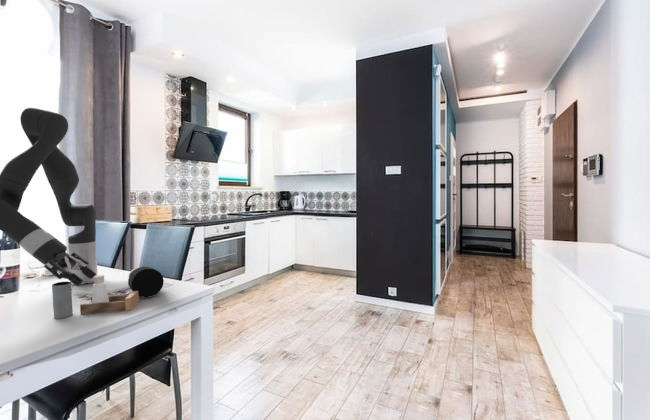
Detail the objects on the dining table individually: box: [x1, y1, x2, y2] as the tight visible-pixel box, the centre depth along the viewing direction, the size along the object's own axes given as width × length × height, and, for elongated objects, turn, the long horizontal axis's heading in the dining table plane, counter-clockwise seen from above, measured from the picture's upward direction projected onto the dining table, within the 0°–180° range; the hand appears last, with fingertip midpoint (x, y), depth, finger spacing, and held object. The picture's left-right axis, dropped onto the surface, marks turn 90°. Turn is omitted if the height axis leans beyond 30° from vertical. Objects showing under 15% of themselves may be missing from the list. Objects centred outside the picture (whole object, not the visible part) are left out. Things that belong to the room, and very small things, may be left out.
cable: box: [127, 266, 165, 299], centre depth 127 cm, size 10×34×10 cm, turn 36°
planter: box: [51, 280, 74, 320], centre depth 99 cm, size 4×4×10 cm
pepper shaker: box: [91, 274, 109, 303], centre depth 104 cm, size 5×5×11 cm
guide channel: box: [79, 291, 140, 315], centre depth 105 cm, size 14×8×4 cm, turn 103°
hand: (87, 279), depth 103 cm, fingers open, 8 cm apart
